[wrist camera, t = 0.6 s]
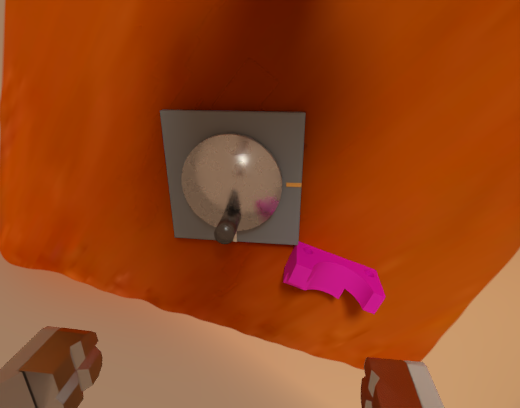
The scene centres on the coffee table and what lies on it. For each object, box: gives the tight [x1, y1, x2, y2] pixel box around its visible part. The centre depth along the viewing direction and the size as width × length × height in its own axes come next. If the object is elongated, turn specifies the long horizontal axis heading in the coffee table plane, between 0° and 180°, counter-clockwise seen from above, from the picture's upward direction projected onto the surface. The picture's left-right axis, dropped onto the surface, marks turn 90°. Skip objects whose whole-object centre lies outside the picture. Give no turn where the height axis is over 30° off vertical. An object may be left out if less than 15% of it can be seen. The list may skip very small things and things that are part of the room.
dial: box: [181, 133, 282, 244], centre depth 48 cm, size 16×16×8 cm
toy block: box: [283, 241, 385, 314], centre depth 55 cm, size 15×6×8 cm, turn 71°
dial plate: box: [160, 110, 306, 245], centre depth 53 cm, size 22×22×2 cm
